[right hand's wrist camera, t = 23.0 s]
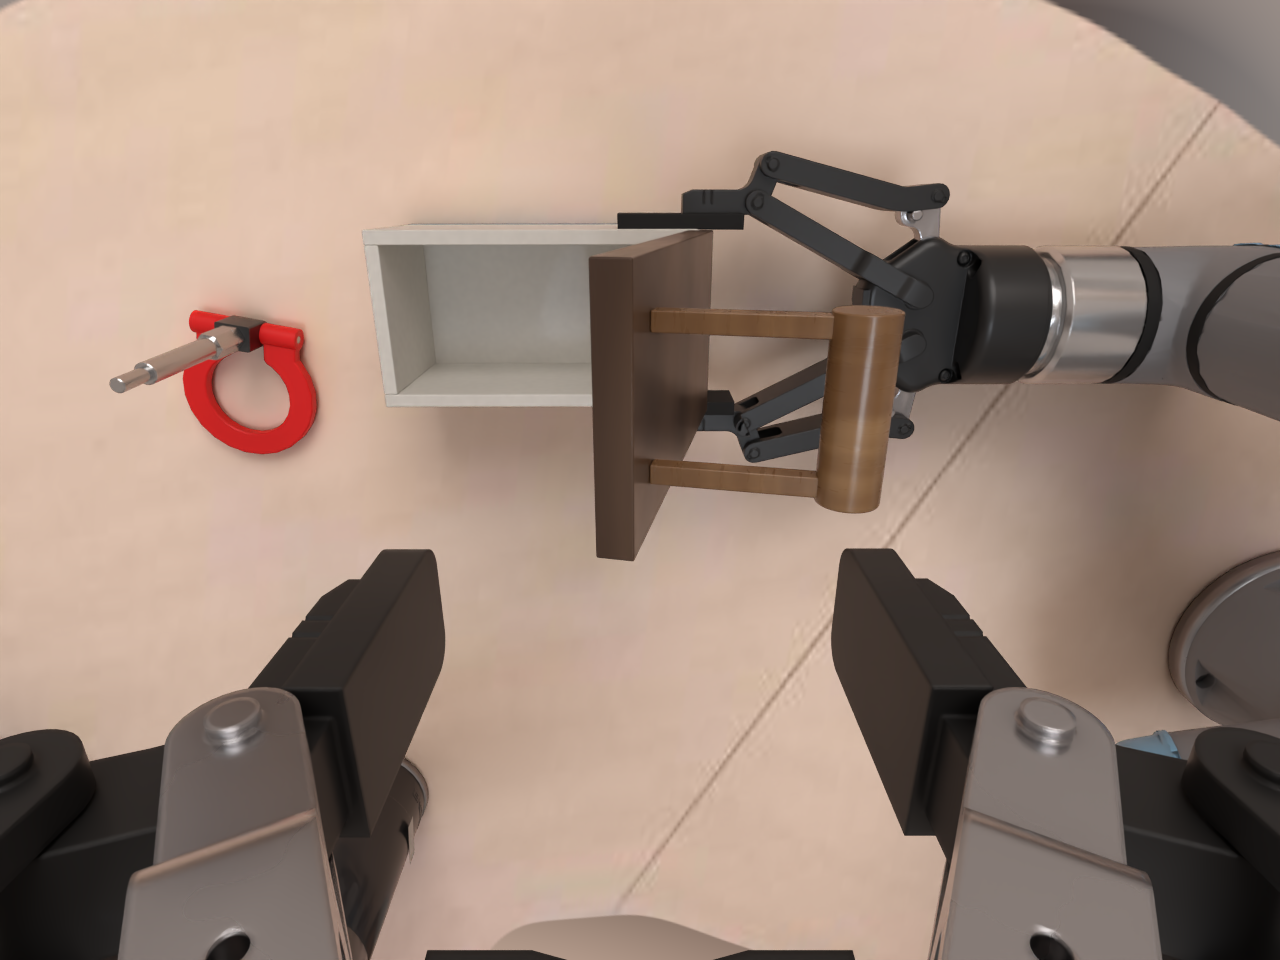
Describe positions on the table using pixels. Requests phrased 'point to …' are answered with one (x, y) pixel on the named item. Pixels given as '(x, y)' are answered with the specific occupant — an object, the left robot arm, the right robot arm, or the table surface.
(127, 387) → the tow hook
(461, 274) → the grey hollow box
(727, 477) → the lid
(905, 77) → the table surface
